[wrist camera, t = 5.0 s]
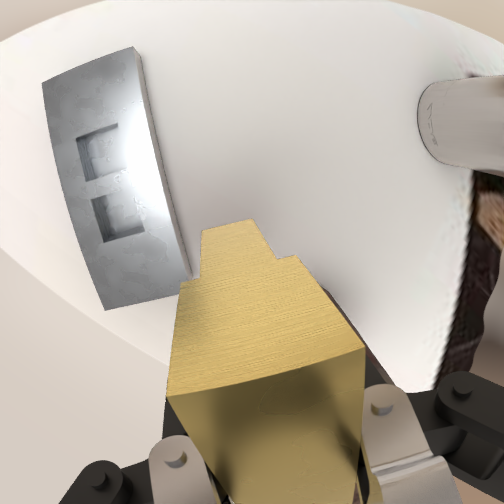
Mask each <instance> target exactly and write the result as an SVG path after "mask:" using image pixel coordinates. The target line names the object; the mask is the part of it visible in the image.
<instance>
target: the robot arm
mask: <svg viewBox="0 0 504 504" xmlns="http://www.w3.org/2000/svg"><path fill="white" fill-rule="evenodd" d="M418 124H419V129H420V133H421V136H422V139H423V142H424V144H425V145H426V147H427V149H428V151H429V152H430V153H431V154H432V156H433V157H434V158H436V159H437V160H438V161H440V162H442V163H444V164H448V165H453V166H458V167H463V168H468V169H472V170H477V171H481V172H486V173H490V174H495V175H499V176H503V177H504V75H499V76H486V77H476V78H467V79H457V80H450V81H443V82H437V83H433V84H432V85H430V86H429V87H428V88H427V89H426V90H425V91H424V93H423V95H422V97H421V99H420V103H419V108H418ZM167 384H168V380H167ZM166 394H167V393H166ZM452 475H453V476H455V477H457V478H458V479H460V480H462V481H464V482H466V483H468V484H469V485H471V486H473V487H475V488H477V489H479V490H481V491H482V492H484V493H486V494H488V495H490V496H492V497H494V498H496V499H498V500H500V501H502V502H504V387H502V386H500V385H498V384H495V383H493V382H491V381H489V380H486V379H484V378H482V377H479V376H477V375H475V374H472V373H470V372H465V371H458V372H453V373H451V374H449V375H447V376H445V377H444V378H443V379H442V380H441V382H440V384H439V386H438V389H435V390H429V391H424V392H418V393H405V392H404V391H403V390H402V389H400V388H399V387H397V386H394V385H390V384H387V383H386V382H385V380H384V379H383V377H382V376H381V375H380V373H379V372H378V370H377V369H376V367H375V366H374V365H373V363H372V362H371V360H370V359H369V358H368V356H367V355H366V353H365V384H364V403H363V418H362V430H361V441H360V451H359V459H358V468H357V475H356V483H357V488H358V493H359V498H360V503H361V504H463V503H462V500H461V498H460V495H459V492H458V490H457V487H456V484H455V481H454V479H453V476H452ZM59 504H234V503H233V501H232V499H231V498H230V497H229V495H228V494H227V493H226V491H225V490H224V488H223V487H222V486H221V484H220V483H219V481H218V480H217V478H216V477H215V476H214V474H213V473H212V471H211V470H210V468H209V467H208V465H207V464H206V462H205V461H204V459H203V458H202V456H201V455H200V453H199V451H198V450H197V448H196V447H195V445H194V444H193V442H192V440H191V439H190V437H189V435H188V434H187V432H186V430H185V429H184V427H183V425H182V424H181V422H180V420H179V419H178V417H177V415H176V413H175V412H174V410H173V408H172V406H171V404H170V403H169V401H168V399H167V397H166V402H165V410H164V422H163V435H162V440H161V441H159V442H158V443H157V444H156V445H155V446H154V447H153V448H152V450H151V452H150V454H149V458H148V459H147V460H145V461H143V462H140V463H137V464H134V465H131V466H128V467H125V468H122V469H120V468H119V467H118V466H117V465H116V464H114V463H113V462H110V461H105V460H101V461H96V462H93V463H91V464H89V465H88V466H86V467H85V468H84V469H83V470H82V472H81V473H80V474H79V476H78V477H77V479H76V480H75V481H74V483H73V484H72V485H71V487H70V488H69V490H68V491H67V493H66V494H65V495H64V497H63V498H62V500H61V501H60V503H59Z"/></svg>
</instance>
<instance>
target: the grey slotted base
mask: <svg viewBox="0 0 504 504" xmlns="http://www.w3.org/2000/svg"><path fill="white" fill-rule="evenodd" d="M42 89H43V97H44V104H45V110H46V116H47V122H48V128H49V133H50V138H51V143H52V148H53V153H54V157H55V162H56V166H57V170H58V174H59V178H60V182H61V186H62V190H63V193H64V197H65V201H66V204H67V208H68V211H69V214H70V218H71V221H72V224H73V227H74V230H75V233H76V236H77V239H78V242H79V245H80V248H81V251H82V254H83V257H84V259H85V262H86V265H87V267H88V270H89V273H90V275H91V278H92V280H93V283H94V285H95V288H96V290H97V293H98V295H99V298H100V300H101V302H102V305H103V307H104V309H105V310H110V309H115V308H119V307H124V306H128V305H133V304H138V303H142V302H146V301H151V300H155V299H160V298H164V297H169V296H173V295H177V294H179V292H180V285H181V283H182V282H186V281H190V280H193V275H192V272H191V268H190V265H189V261H188V258H187V254H186V251H185V247H184V244H183V240H182V237H181V233H180V229H179V226H178V222H177V218H176V215H175V211H174V207H173V203H172V199H171V195H170V191H169V188H168V184H167V179H166V175H165V171H164V167H163V163H162V159H161V154H160V150H159V146H158V141H157V137H156V132H155V128H154V123H153V119H152V114H151V109H150V104H149V99H148V94H147V89H146V84H145V79H144V73H143V68H142V62H141V57H140V55H139V54H138V52H137V51H136V50H135V48H134V47H129V48H126V49H123V50H120V51H117V52H114V53H111V54H109V55H106V56H103V57H100V58H98V59H95V60H93V61H90V62H88V63H85V64H83V65H80V66H78V67H75V68H73V69H71V70H68V71H66V72H64V73H62V74H60V75H57V76H55V77H53V78H51V79H49V80H47V81H45V82H43V83H42Z"/></svg>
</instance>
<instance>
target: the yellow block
mask: <svg viewBox="0 0 504 504" xmlns="http://www.w3.org/2000/svg"><path fill="white" fill-rule="evenodd" d="M364 384H365V345H364V344H363V343H362V341H361V340H360V339H359V337H358V336H357V335H356V333H355V332H354V331H353V329H352V328H351V327H350V325H349V324H348V323H347V321H346V320H345V319H344V317H343V316H342V315H341V313H340V312H339V311H338V309H337V308H336V307H335V305H334V304H333V303H332V301H331V300H330V299H329V297H328V296H327V295H326V293H325V292H324V291H323V289H322V288H321V287H320V286H319V284H318V283H317V282H316V280H315V279H314V278H313V276H312V275H311V274H310V273H309V271H308V270H307V269H306V267H305V266H304V265H303V264H302V262H301V261H300V260H299V258H298V257H297V256H296V255H294V256H290V257H285V258H281V259H276V257H275V255H274V254H273V252H272V250H271V249H270V247H269V245H268V244H267V242H266V241H265V239H264V237H263V236H262V234H261V232H260V231H259V229H258V227H257V226H256V224H255V222H254V221H253V219H248V220H244V221H240V222H235V223H231V224H227V225H223V226H219V227H214V228H210V229H206V230H202V237H201V259H200V278H199V279H194V280H190V281H186V282H182V283H181V285H180V292H179V298H178V305H177V312H176V319H175V326H174V334H173V341H172V349H171V358H170V366H169V375H168V384H167V394H166V397H167V399H168V401H169V403H170V404H171V406H172V408H173V410H174V412H175V413H176V415H177V417H178V419H179V420H180V422H181V424H182V425H183V427H184V429H185V430H186V432H187V434H188V435H189V437H190V439H191V440H192V442H193V444H194V445H195V447H196V448H197V450H198V451H199V453H200V455H201V456H202V458H203V459H204V461H205V462H206V464H207V465H208V467H209V468H210V470H211V471H212V473H213V474H214V476H215V477H216V478H217V480H218V481H219V483H220V484H221V486H222V487H223V488H224V490H225V491H226V493H227V494H228V495H229V497H230V498H231V499H232V501H233V502H234V503H235V504H352V502H353V496H354V489H355V482H356V475H357V468H358V459H359V451H360V441H361V430H362V418H363V403H364Z"/></svg>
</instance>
